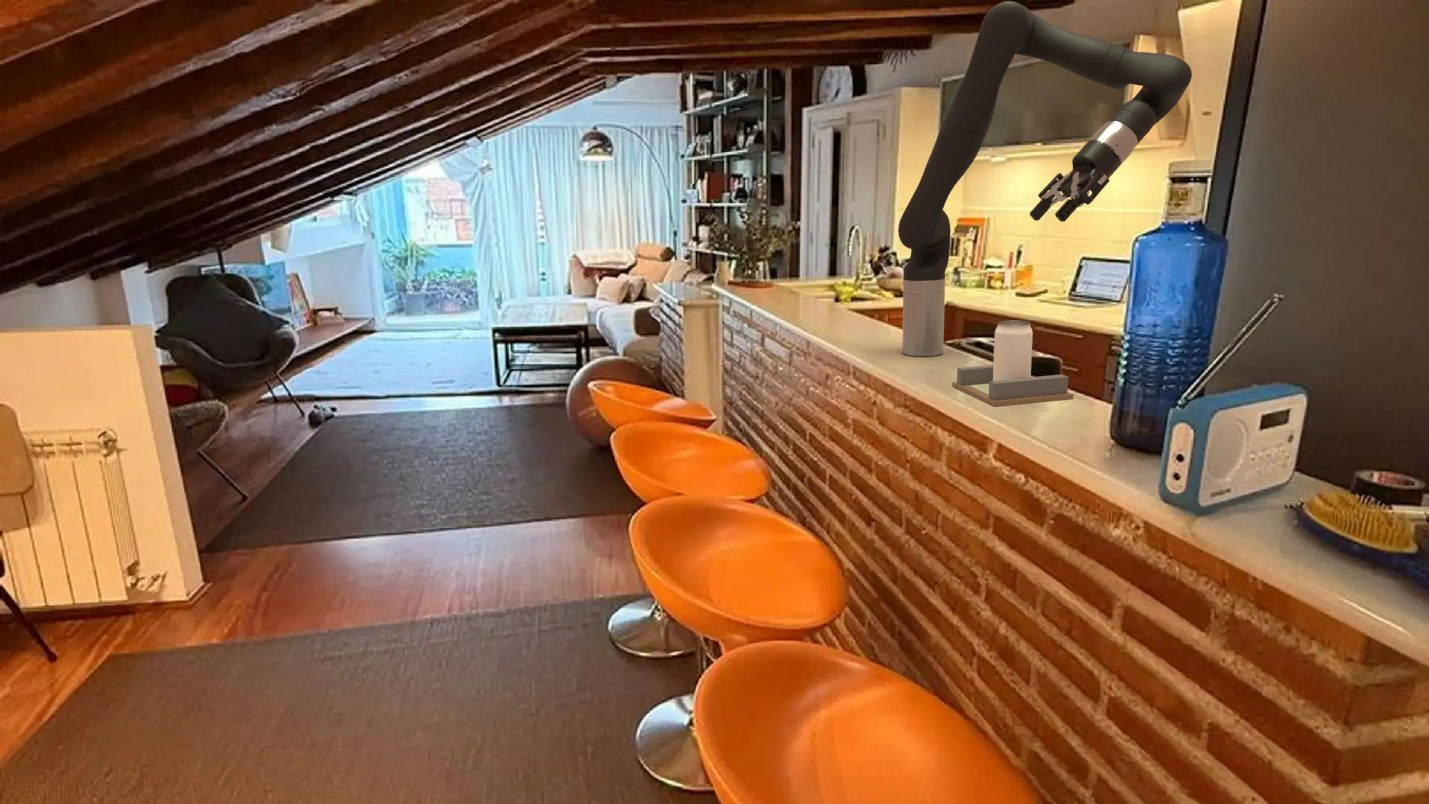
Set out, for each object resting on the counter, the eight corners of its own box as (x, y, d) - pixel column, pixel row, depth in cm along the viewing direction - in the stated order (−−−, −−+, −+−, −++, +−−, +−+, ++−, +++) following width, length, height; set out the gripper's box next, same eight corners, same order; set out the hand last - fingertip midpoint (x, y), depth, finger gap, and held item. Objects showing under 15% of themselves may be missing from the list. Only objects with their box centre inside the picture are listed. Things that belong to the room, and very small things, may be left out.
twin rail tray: (952, 386, 153) (952, 367, 152) (1023, 379, 156) (1024, 360, 155) (994, 406, 138) (995, 385, 137) (1073, 398, 140) (1074, 377, 140)
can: (1023, 382, 150) (1027, 319, 147) (1034, 390, 143) (1038, 325, 140) (988, 383, 150) (991, 320, 147) (997, 391, 144) (1000, 326, 141)
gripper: (1069, 141, 155) (1013, 204, 156) (1118, 135, 142) (1055, 204, 143) (1092, 168, 158) (1036, 230, 159) (1142, 164, 144) (1080, 233, 145)
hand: (1045, 218), depth 151 cm, fingers open, 8 cm apart
